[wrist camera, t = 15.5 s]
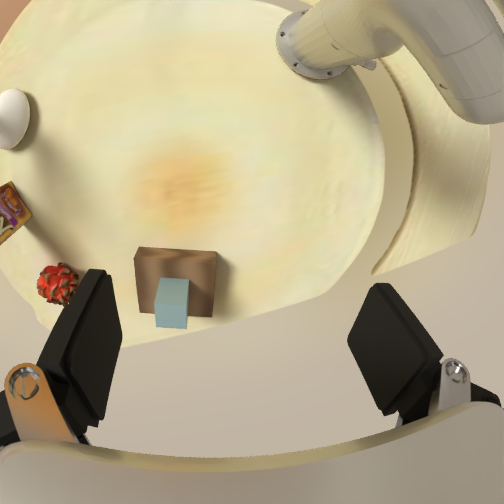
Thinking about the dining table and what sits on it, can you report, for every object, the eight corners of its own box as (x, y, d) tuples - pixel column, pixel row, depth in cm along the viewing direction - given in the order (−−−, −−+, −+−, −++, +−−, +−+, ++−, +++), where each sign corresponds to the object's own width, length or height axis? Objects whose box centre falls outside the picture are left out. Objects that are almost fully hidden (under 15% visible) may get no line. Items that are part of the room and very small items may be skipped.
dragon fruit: (92, 270, 50) (54, 271, 50) (68, 254, 42) (30, 257, 43) (87, 311, 46) (48, 308, 47) (60, 300, 39) (22, 297, 39)
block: (189, 279, 47) (186, 305, 41) (188, 301, 49) (186, 329, 43) (160, 277, 46) (154, 303, 40) (161, 299, 48) (156, 326, 42)
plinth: (216, 251, 49) (216, 263, 46) (211, 303, 55) (212, 317, 52) (138, 246, 47) (133, 258, 44) (143, 299, 53) (139, 312, 49)
